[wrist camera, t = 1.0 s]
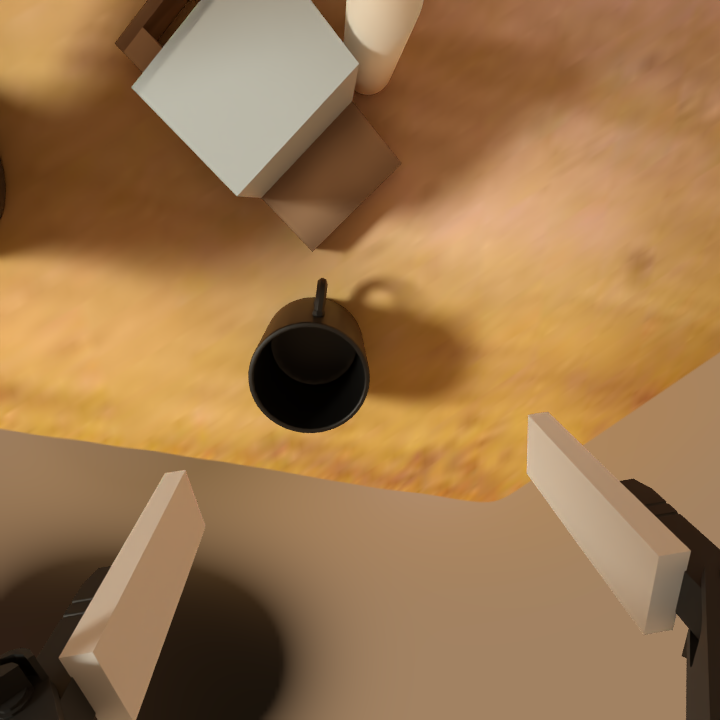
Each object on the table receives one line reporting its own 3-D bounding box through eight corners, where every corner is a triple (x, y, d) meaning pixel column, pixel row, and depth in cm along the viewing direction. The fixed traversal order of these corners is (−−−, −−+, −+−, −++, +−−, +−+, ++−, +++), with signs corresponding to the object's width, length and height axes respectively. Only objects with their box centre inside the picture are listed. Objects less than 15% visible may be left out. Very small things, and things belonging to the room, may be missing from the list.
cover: (185, 118, 31) (131, 87, 22) (278, 8, 29) (256, -71, 20) (261, 198, 33) (236, 196, 25) (352, 100, 31) (359, 63, 23)
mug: (374, 277, 38) (386, 298, 30) (354, 392, 42) (359, 439, 34) (272, 261, 37) (255, 278, 29) (261, 381, 41) (243, 427, 33)
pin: (331, 63, 32) (330, -12, 21) (369, 21, 31) (389, -80, 20) (366, 106, 33) (382, 58, 22) (403, 67, 33) (439, -4, 21)
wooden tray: (130, 55, 31) (86, 23, 26) (218, -57, 29) (191, -119, 24) (313, 248, 37) (310, 256, 31) (397, 165, 35) (409, 159, 29)
